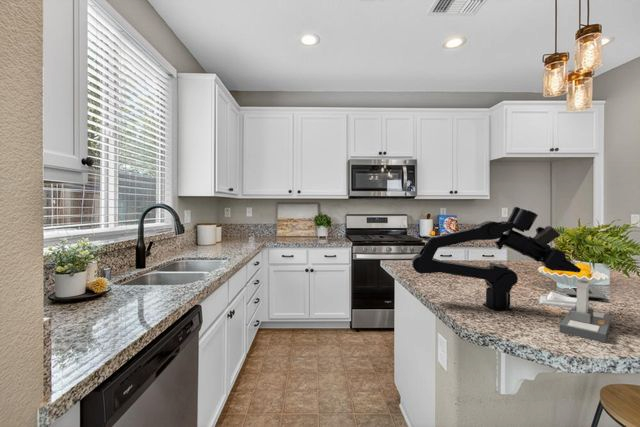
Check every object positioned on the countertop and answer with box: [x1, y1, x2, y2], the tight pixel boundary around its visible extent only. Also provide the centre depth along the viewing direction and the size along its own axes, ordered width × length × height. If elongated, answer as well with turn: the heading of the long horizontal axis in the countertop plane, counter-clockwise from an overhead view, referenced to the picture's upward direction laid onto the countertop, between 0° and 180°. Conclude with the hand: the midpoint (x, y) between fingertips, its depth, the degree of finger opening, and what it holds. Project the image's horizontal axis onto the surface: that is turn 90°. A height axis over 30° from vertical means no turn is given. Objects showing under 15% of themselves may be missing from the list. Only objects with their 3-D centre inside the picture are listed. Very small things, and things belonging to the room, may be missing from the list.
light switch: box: [539, 291, 577, 309], centre depth 108 cm, size 11×4×13 cm
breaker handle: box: [575, 279, 591, 313], centre depth 87 cm, size 2×5×8 cm, turn 133°
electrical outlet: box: [562, 287, 606, 301], centre depth 117 cm, size 13×10×2 cm
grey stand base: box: [559, 305, 613, 344], centre depth 86 cm, size 9×20×4 cm, turn 133°
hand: (573, 267), depth 96 cm, fingers open, 9 cm apart
